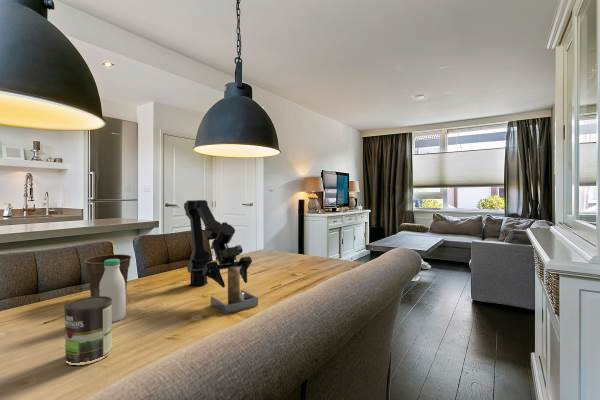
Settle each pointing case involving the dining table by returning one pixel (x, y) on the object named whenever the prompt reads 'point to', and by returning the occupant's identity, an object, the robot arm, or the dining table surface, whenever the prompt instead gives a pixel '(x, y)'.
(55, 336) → the dining table surface
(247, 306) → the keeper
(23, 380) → the dining table surface
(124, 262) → the plant pot
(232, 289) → the peg
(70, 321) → the coffee can
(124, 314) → the milk bottle
